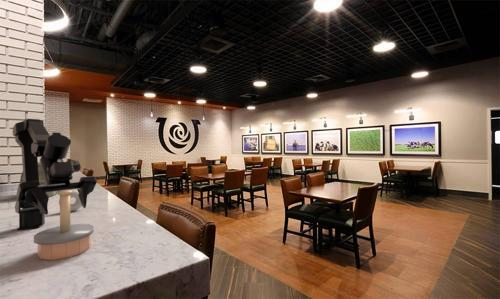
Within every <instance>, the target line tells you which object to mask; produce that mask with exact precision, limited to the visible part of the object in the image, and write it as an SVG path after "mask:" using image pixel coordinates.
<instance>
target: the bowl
mask: <svg viewBox="0 0 500 299" xmlns="http://www.w3.org/2000/svg"><path fill="white" fill-rule="evenodd" d="M91 235H92V234H91ZM91 235H89V236H87V237H85V238H82V239H79V240H76V241H71V242H67V243H61V244H52V245H41V244H37V256H38V258H39V259H41V260H42V261H57V260H62V259H68V258H72V257H75V256H78V255H82V253H85V252H87V251H89V249H90V248H91V244H92V243H91V241H92V239H91Z"/></svg>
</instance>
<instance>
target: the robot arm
mask: <svg viewBox="0 0 500 299" xmlns="http://www.w3.org/2000/svg"><path fill="white" fill-rule="evenodd" d="M12 136H13V137H14V140H15V143H17V145H19V146H20V149H21V160H22V172H23V179H24V182H21V183H20V182H19V183H18V187H17V191H16V202H15V205H14V210H15V213H16V214H18V222H19V223H18V226H19V227H17V228H16V230H17V231H18V230H31V229H38V228H41V227H42V226H43V225H45V223H46V217H45V216H47V215H48V214H49V211H48V210H49V209H48V206H49V205H48V204H49V203H48V202H49V200H50V197H48V196H47V194H46V192H51V191H55V192H56V191H62V190H76V191H78V192H79V194H78V196H79V199H80V201H81V204H82V206H81V207H82V208H83V209H86V208H87V203H88V201H87V200H88V195H90V193H92V192H93V191H94V189H95V187H96V185H97V183H98V181H97V178H96V177H95V176H94V175H92V176H91V175H90V176H81V177H80V179H79V180H78V181H77V182H76V181H75V182H71V181H72V180H73V174H74V173H78V172H80V171H81V168H82V166H81V163H80V161H79V160H71V161H64V160H63V159H66V157H67V154H68V152H69V149H70V147H71V142H72V140H71V139H70V138H69V137H67V136H66V135H63V134H61V132H52V133H51V135H50V133H49V132H48V130H47V128H46V127H45V125H44V120H42V119H39V118H24V119H23V121H20V122H16V123H15V124H14V125H13V127H12ZM38 158H39V160H38ZM38 162H40V164H41V169H42V171H43V175H44V182H46V184H45V185H41V184H40V183H39V172H38Z"/></svg>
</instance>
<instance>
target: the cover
mask: <svg viewBox="0 0 500 299" xmlns="http://www.w3.org/2000/svg"><path fill="white" fill-rule="evenodd" d="M70 194H72V190H62V191H58V193H57V195H59V199H60V205H59V226H55V227H51V228H47V229H45V230H41V231H39V232H37V233H35V234H34V235H33V243H34V244H36V245H38V244H41V245H52V244H61V243H67V242H71V241H76V240H79V239H82V238H85V237H87V236H89V235H92V234H94V233H95V232H94V230H95V229H94V225H92V224H86V223H75V224H71V223H72V222H71V221H72V220H71V219H72V218H71V212H72V211H71V208H70V204H71V198H70Z"/></svg>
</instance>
